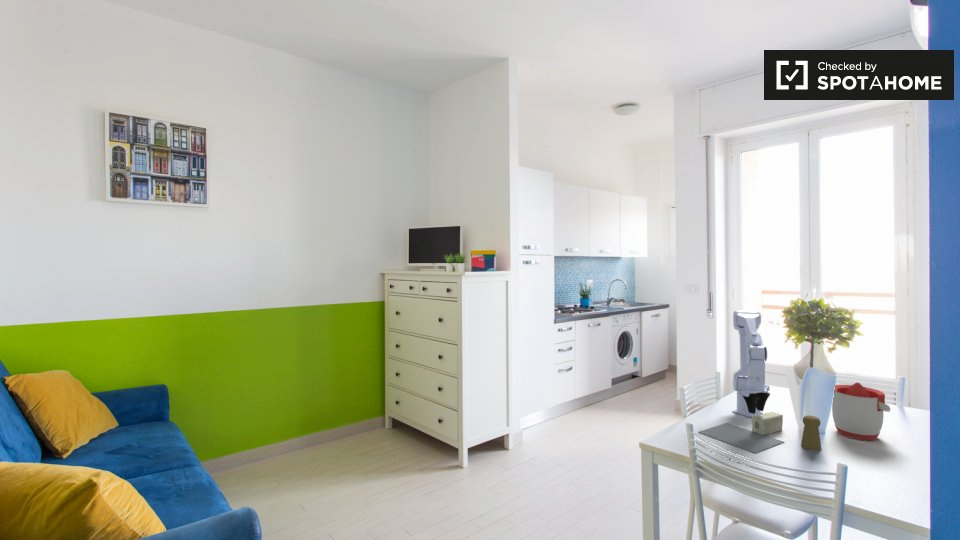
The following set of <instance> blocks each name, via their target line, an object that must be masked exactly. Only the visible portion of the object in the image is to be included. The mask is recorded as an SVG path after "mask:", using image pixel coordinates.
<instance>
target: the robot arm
mask: <svg viewBox="0 0 960 540" xmlns="http://www.w3.org/2000/svg"><path fill="white" fill-rule="evenodd" d="M732 315H733V316H732V317H733V319H732V320H733V321H732V322H733V329H734V330H735V331H738V334H739V358H740V366H739V367H740V368H739V369H738V370H736V371H735V372H733V377H732V388H733V390H734V391H735V392H736V409H734V410H733V409H732V413H735V414H737V415H738V414H739V415H741V416H745V417H749V418H752V416H755V415H760V414H764V413H763V411H764V410H765V405H766V403H767V401H768V398H769V397H770V395H771V393H770V392H769V391H770V385H769V384H768V385H767V384H766V362H767V360H768V349H767V346H766V345H765V344H763V339H762V336H761V333H759V332H758V329H759V328H760V325H761V324H762V323H761V322H762V314H761V312H760V310H755V311H754V310H738V309H735V310H734V311H733V314H732Z"/></svg>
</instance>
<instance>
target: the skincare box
mask: <svg viewBox="0 0 960 540" xmlns="http://www.w3.org/2000/svg"><path fill="white" fill-rule="evenodd" d="M783 416H784V415H783V414H782V413H777V412H774V411H770V412H765V413H761V414H758V415H755V416H752V417H751V431H752V432H755V433H758V434H761V435H768V434H771V433H776V432H780V431H783V424H784V423H783V422H784V420H783V419H784V417H783Z"/></svg>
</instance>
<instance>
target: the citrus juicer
mask: <svg viewBox="0 0 960 540" xmlns="http://www.w3.org/2000/svg"><path fill="white" fill-rule="evenodd" d="M834 386H835V390H834V397H833V402H831V405H832V407H831V409H832V410H831V413H832V419H833V422H834V426H835V429H836V430H837V433H839V434H840V435H842V436H846V437H847V438H852V439H856V440H860V439H861V440H860V441H864V440H866V441H874V440H876V439H877V438H878V437H879V435H880V433H881V431H882V427H883V424H884V412H887V413H890V412H891V408H890V407H891V406H890V405H888V404H887V403H886V402H885V399H886V393H884V392H883V391H880V390H879V389H875V388H871V387H866V386H863V385H862V384H861V383H859V382H855V383H853V384H836V385H834Z"/></svg>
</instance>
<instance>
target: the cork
mask: <svg viewBox="0 0 960 540" xmlns="http://www.w3.org/2000/svg"><path fill="white" fill-rule="evenodd" d="M802 423H803V425H804V426H803V432H802V436H801V437H802V438H801V442H800V447H802V448H804V449H805V448H806V450H809V449H810V450H809V451H814V450H819V451H821V450H822V444H821V443H822V442H821V436H820V435H821V434H820V428H819V427H820V426H821V420H820V418H819V417H817V416H815V415H804V416H803V418H802Z"/></svg>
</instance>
